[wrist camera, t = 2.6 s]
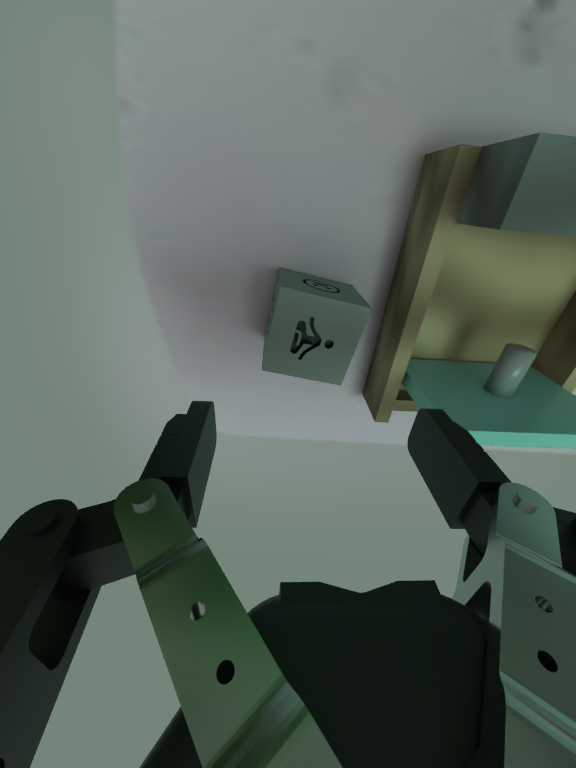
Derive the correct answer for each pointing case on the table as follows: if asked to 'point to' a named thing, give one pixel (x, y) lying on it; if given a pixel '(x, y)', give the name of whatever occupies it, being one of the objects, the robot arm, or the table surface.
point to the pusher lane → (483, 265)
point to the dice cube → (313, 327)
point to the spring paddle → (497, 399)
